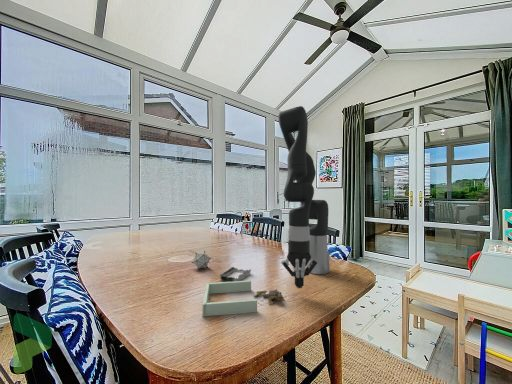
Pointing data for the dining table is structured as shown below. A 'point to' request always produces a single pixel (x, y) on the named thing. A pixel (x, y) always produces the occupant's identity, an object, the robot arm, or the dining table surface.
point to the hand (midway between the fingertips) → (299, 287)
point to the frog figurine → (268, 296)
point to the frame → (228, 306)
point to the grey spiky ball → (201, 260)
